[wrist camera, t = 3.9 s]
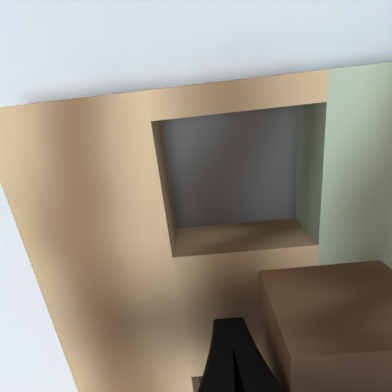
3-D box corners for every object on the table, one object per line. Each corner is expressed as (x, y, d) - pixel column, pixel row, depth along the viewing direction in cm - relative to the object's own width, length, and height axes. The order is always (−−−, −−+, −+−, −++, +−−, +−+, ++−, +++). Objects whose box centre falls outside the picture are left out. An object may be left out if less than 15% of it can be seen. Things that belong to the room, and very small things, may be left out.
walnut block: (380, 260, 11) (479, 344, 7) (367, 349, 12) (441, 457, 9) (258, 270, 11) (290, 357, 7) (262, 357, 13) (289, 465, 9)
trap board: (439, 61, 11) (523, 46, 8) (379, 389, 18) (413, 444, 15) (28, 109, 12) (-27, 110, 9) (118, 405, 18) (103, 460, 16)
